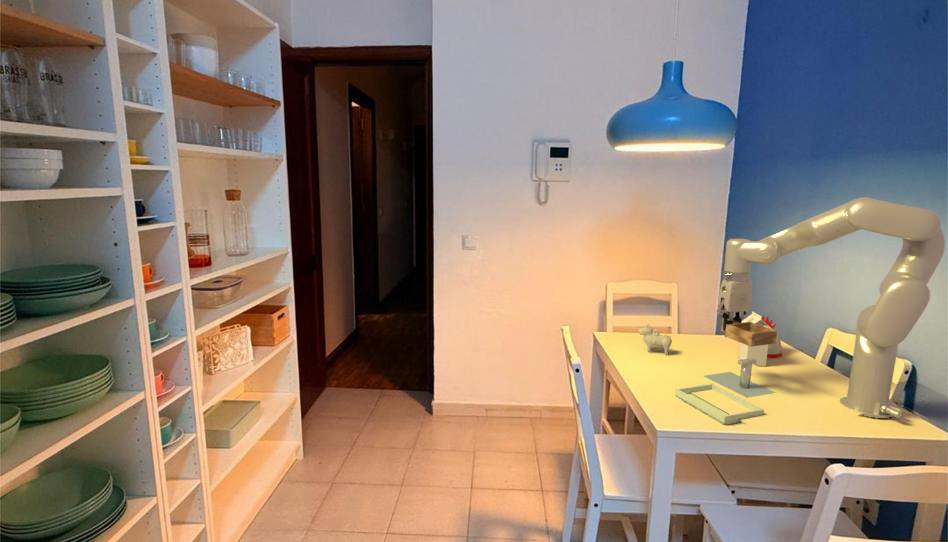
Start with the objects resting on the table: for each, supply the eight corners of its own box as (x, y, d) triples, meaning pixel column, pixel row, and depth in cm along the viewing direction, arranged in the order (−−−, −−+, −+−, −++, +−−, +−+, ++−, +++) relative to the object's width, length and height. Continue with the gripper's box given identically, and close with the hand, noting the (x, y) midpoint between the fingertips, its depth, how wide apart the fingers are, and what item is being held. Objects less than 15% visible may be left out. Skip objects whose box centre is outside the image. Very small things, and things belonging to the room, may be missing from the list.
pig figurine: (638, 347, 198) (640, 322, 196) (671, 352, 192) (673, 326, 190) (635, 350, 193) (637, 325, 191) (669, 356, 187) (671, 330, 185)
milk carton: (756, 359, 184) (762, 311, 181) (765, 366, 177) (771, 316, 174) (737, 359, 185) (742, 311, 181) (745, 365, 178) (751, 316, 175)
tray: (762, 417, 138) (763, 409, 138) (723, 425, 134) (724, 416, 133) (711, 390, 156) (711, 383, 156) (675, 396, 152) (675, 389, 151)
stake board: (775, 395, 153) (776, 392, 153) (746, 400, 149) (746, 397, 149) (729, 374, 170) (730, 371, 169) (702, 378, 166) (702, 375, 166)
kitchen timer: (748, 344, 202) (752, 309, 200) (786, 352, 192) (790, 316, 190) (736, 351, 193) (740, 315, 191) (774, 361, 183) (779, 323, 181)
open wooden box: (775, 343, 151) (777, 331, 150) (750, 346, 148) (752, 334, 147) (736, 328, 165) (737, 317, 164) (712, 331, 162) (714, 320, 161)
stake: (755, 387, 156) (758, 360, 155) (740, 389, 155) (743, 362, 153) (747, 383, 159) (750, 357, 158) (733, 386, 157) (736, 359, 156)
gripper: (726, 280, 152) (721, 336, 155) (765, 277, 157) (760, 331, 160) (707, 276, 159) (703, 330, 162) (746, 273, 164) (741, 325, 167)
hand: (731, 330), depth 161 cm, fingers closed on open wooden box, 3 cm apart
